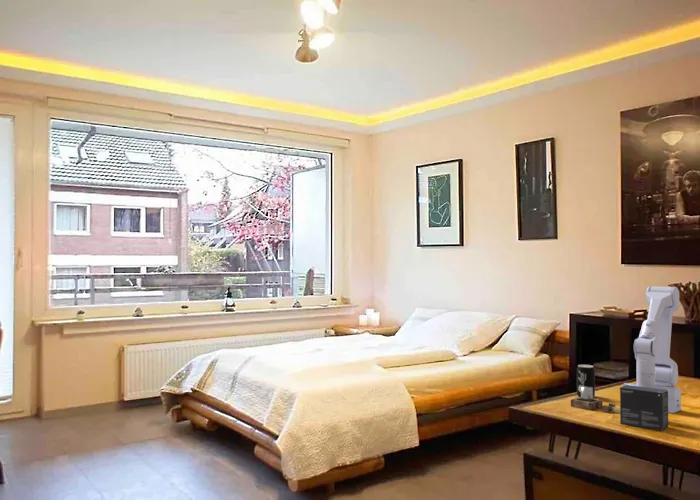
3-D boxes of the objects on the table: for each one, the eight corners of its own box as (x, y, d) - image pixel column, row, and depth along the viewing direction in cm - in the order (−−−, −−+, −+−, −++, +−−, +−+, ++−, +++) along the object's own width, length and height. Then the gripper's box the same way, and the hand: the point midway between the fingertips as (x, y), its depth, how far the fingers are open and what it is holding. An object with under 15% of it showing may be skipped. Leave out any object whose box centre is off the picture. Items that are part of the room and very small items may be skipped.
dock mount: (616, 409, 218) (616, 402, 218) (606, 413, 213) (606, 406, 213) (581, 403, 228) (581, 396, 228) (570, 406, 223) (570, 399, 223)
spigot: (594, 407, 222) (594, 387, 222) (588, 408, 220) (588, 389, 220) (585, 404, 225) (585, 385, 225) (578, 406, 223) (578, 387, 223)
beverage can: (596, 398, 235) (596, 367, 236) (578, 397, 237) (578, 366, 237) (593, 394, 242) (592, 364, 242) (575, 394, 243) (575, 364, 243)
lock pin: (634, 414, 211) (634, 404, 211) (631, 415, 209) (631, 405, 209) (608, 410, 217) (608, 399, 218) (605, 410, 216) (605, 400, 216)
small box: (669, 427, 196) (669, 389, 196) (663, 431, 190) (663, 393, 191) (626, 419, 204) (626, 384, 205) (619, 423, 199) (619, 387, 199)
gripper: (619, 371, 210) (619, 411, 209) (663, 377, 199) (663, 419, 199) (628, 369, 214) (628, 408, 214) (671, 375, 204) (672, 416, 203)
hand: (645, 413), depth 207 cm, fingers closed
